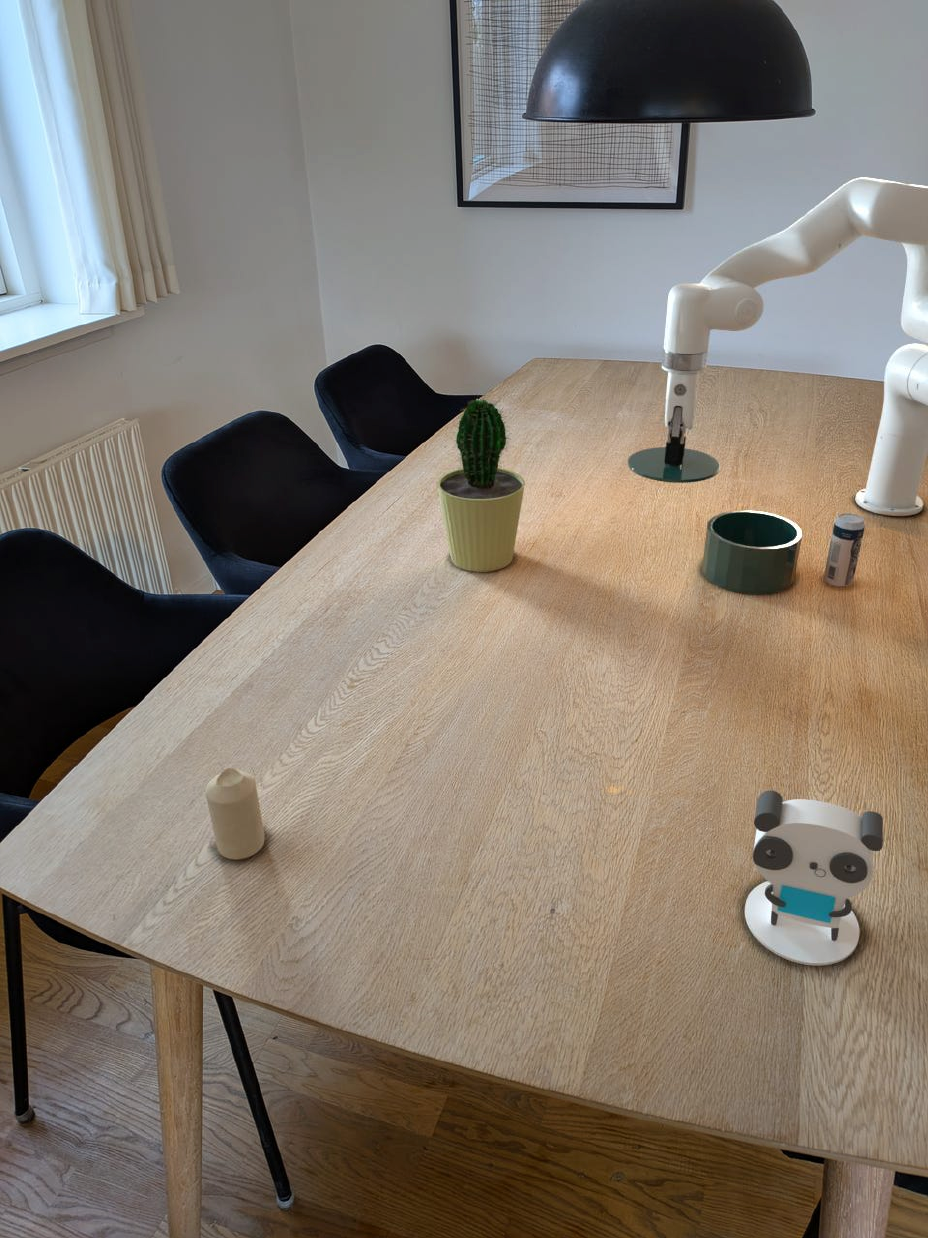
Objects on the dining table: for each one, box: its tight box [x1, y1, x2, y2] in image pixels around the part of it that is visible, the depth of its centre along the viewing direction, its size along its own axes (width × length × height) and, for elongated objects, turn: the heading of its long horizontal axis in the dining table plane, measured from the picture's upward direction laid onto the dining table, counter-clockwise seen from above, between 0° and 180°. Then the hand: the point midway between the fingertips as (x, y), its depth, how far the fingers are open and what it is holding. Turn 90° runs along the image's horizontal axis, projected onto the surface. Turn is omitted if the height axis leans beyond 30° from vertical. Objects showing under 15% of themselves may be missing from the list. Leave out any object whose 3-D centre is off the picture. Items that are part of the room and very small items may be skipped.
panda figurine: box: [744, 790, 884, 967], centre depth 94 cm, size 12×11×15 cm
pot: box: [701, 510, 803, 595], centre depth 163 cm, size 16×16×8 cm
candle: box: [205, 767, 265, 861], centre depth 107 cm, size 6×6×10 cm
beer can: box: [823, 512, 866, 588], centre depth 159 cm, size 5×5×12 cm
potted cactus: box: [436, 394, 526, 573], centre depth 164 cm, size 15×15×30 cm
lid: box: [627, 432, 721, 484], centre depth 171 cm, size 17×17×7 cm
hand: (674, 459), depth 172 cm, fingers closed on lid, 2 cm apart
